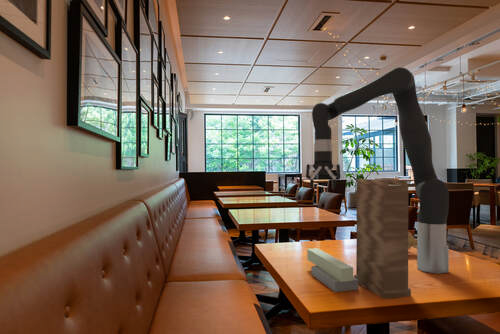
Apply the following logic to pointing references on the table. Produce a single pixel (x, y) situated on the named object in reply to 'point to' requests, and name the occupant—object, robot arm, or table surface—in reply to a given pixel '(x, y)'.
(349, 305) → the table surface
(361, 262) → the pedestal
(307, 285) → the table surface
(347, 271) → the pale green bar
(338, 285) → the base block
